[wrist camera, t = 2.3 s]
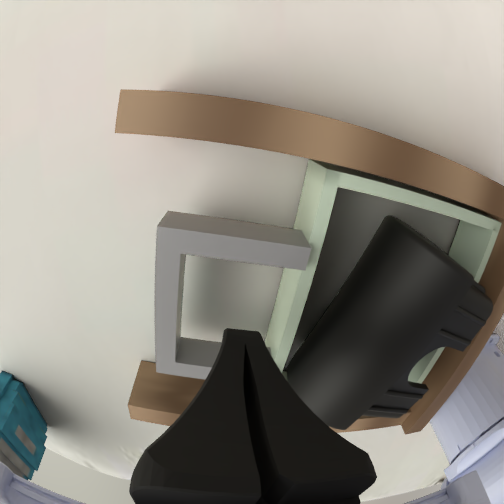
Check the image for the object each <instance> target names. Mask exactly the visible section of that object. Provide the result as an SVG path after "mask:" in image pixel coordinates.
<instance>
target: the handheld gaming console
mask: <svg viewBox="0 0 504 504" xmlns="http://www.w3.org/2000/svg"><path fill="white" fill-rule="evenodd" d="M46 426H47V423H46V422H45V420H44V419H43V417H42V415H41V414H40V412H39V410H38V409H37V407H36V405H35V404H34V402H33V400H32V399H31V397H30V395H29V393H28V391H27V390H26V388H25V386H24V384H23V383H22V382H20V381H17V380H15V379H14V377H13V375H12V374H9V373H7V372H4V371H2V372H1V373H0V461H1V462H2V463H3V464H5V465H6V466H7V467H8V468H9V469H10V470H11V471H12V472H13V473H14V474H16V475H18V476H20V477H22V478H24V479H26V480H28V479H30V480H31V478H32V476H33V473H34V470H36V471H37V470H38V468H39V465H40V462H41V459H42V457H43V454H44V451H45V449H46V447H45V446H44V443H45V441H46V438H47V436H46V435H45V433H46V431H47V427H46Z"/></svg>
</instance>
